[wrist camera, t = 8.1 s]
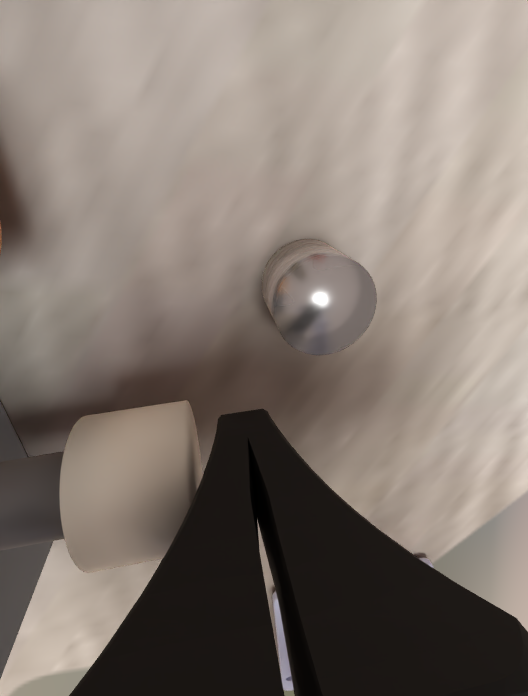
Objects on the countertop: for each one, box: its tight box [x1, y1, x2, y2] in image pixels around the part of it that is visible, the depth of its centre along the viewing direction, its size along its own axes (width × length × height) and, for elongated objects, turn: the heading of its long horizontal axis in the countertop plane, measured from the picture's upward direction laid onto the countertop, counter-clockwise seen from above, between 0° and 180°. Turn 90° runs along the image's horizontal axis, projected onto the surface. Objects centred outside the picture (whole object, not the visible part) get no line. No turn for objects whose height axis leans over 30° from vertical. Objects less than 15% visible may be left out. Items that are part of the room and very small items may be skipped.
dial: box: [262, 239, 377, 355], centre depth 10 cm, size 3×3×2 cm
